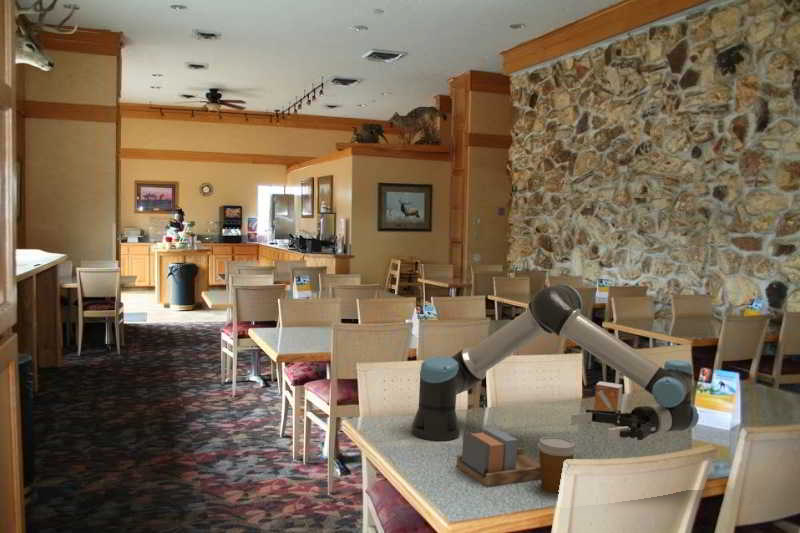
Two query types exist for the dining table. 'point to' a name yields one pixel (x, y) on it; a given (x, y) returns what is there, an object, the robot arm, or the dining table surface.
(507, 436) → the books
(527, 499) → the dining table surface
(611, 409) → the small box
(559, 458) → the disposable coffee cup
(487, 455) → the bookend
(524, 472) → the wooden serving tray
